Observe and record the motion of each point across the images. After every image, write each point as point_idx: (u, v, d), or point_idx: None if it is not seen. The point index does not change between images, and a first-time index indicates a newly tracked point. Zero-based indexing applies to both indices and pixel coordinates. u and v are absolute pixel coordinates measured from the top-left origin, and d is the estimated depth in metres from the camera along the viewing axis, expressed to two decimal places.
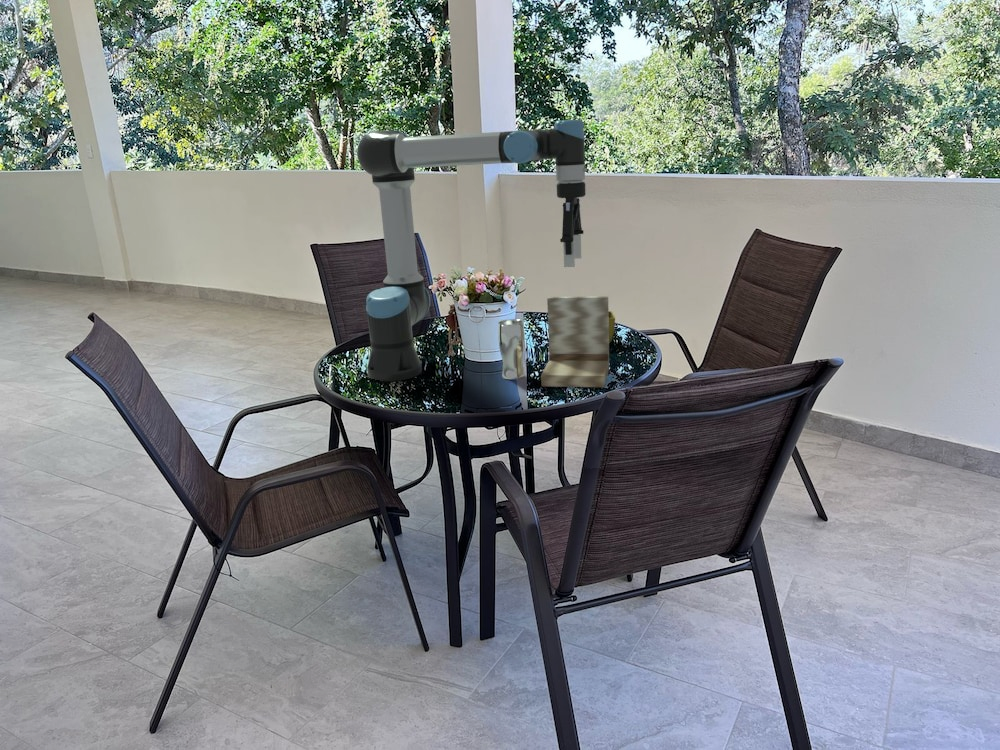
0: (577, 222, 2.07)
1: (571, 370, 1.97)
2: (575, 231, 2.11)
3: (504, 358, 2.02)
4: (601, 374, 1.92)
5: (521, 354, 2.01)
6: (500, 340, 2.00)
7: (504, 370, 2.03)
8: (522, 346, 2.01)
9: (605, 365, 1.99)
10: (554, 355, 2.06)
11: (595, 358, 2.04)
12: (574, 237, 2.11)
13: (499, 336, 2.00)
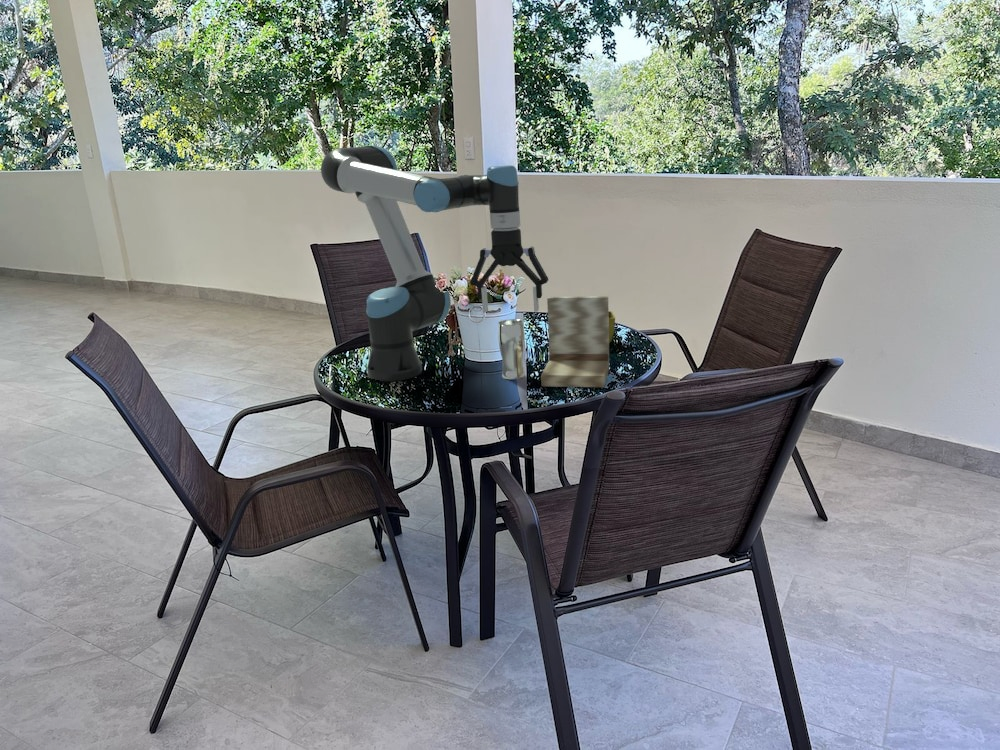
0: None
1: (571, 370, 1.97)
2: None
3: (504, 358, 2.02)
4: (601, 374, 1.92)
5: (521, 354, 2.01)
6: (500, 340, 2.00)
7: (504, 370, 2.03)
8: (522, 346, 2.01)
9: (605, 365, 1.99)
10: (554, 355, 2.06)
11: (595, 358, 2.04)
12: None
13: (499, 336, 2.00)
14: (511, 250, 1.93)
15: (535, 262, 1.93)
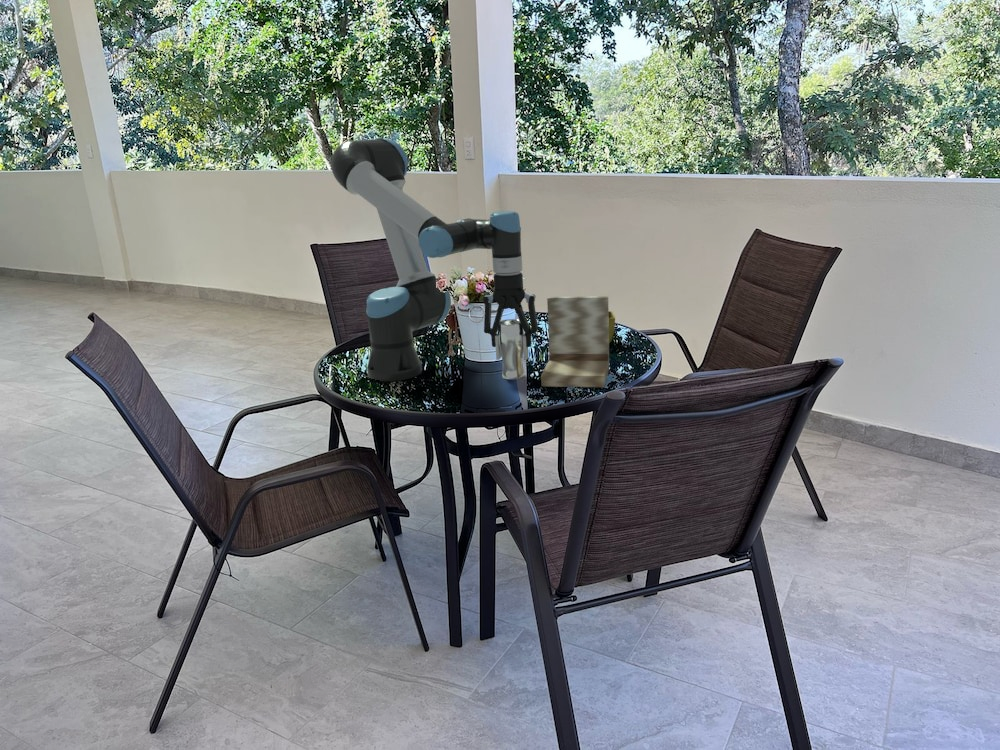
0: None
1: (571, 370, 1.97)
2: None
3: (504, 358, 2.02)
4: (601, 374, 1.92)
5: (521, 354, 2.01)
6: (500, 340, 2.00)
7: (504, 370, 2.03)
8: (522, 346, 2.01)
9: (605, 365, 1.99)
10: (554, 355, 2.06)
11: (595, 358, 2.04)
12: None
13: (499, 336, 2.00)
14: (514, 291, 1.97)
15: (532, 311, 1.97)
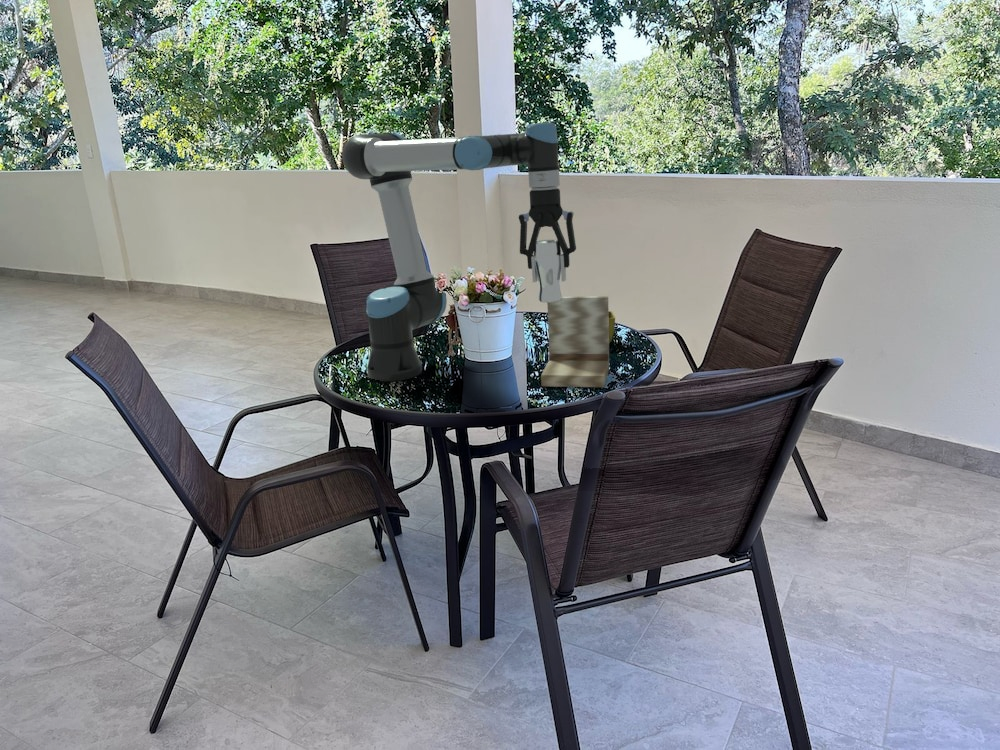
0: None
1: (571, 370, 1.97)
2: None
3: (541, 279, 1.93)
4: (601, 374, 1.92)
5: (558, 275, 1.93)
6: (536, 260, 1.91)
7: (541, 293, 1.94)
8: (559, 266, 1.92)
9: (605, 365, 1.99)
10: (554, 355, 2.06)
11: (595, 358, 2.04)
12: None
13: (535, 256, 1.92)
14: (551, 208, 1.88)
15: (570, 228, 1.88)
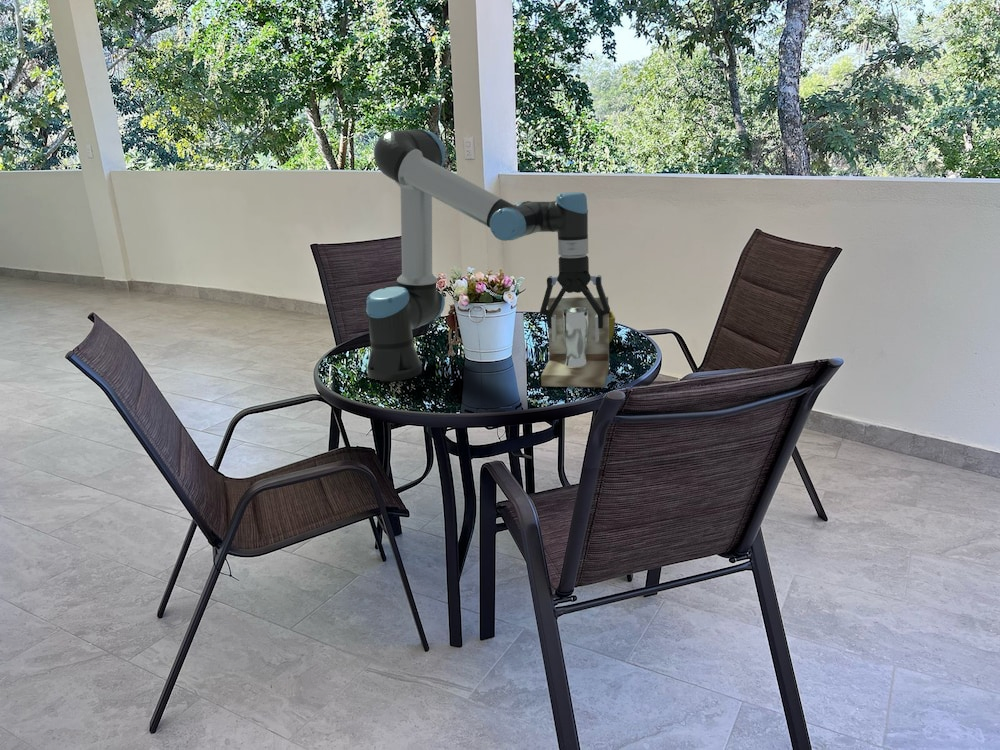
0: None
1: (571, 370, 1.97)
2: None
3: (568, 346, 1.97)
4: (601, 374, 1.92)
5: (586, 343, 1.97)
6: (565, 328, 1.96)
7: (567, 359, 1.99)
8: (587, 334, 1.96)
9: (605, 365, 1.99)
10: (554, 355, 2.06)
11: (595, 358, 2.04)
12: None
13: (564, 324, 1.96)
14: (579, 276, 1.92)
15: (601, 292, 1.92)
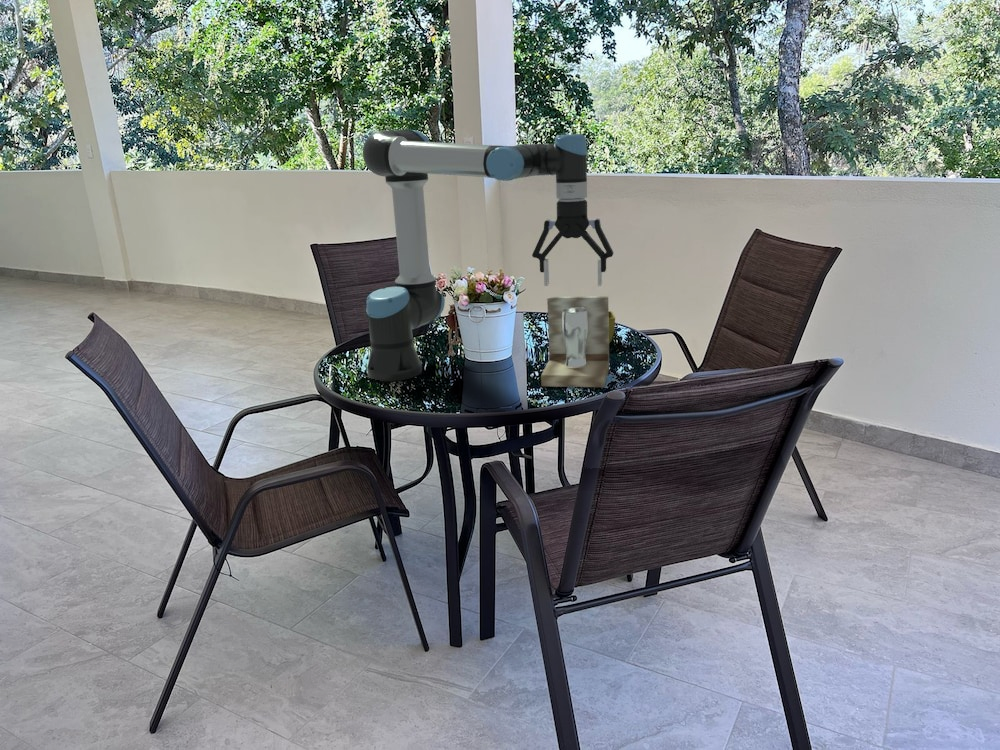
0: (589, 244, 1.90)
1: (571, 370, 1.97)
2: None
3: (568, 346, 1.97)
4: (601, 374, 1.92)
5: (585, 343, 1.97)
6: (564, 328, 1.96)
7: (567, 359, 1.99)
8: (586, 335, 1.96)
9: (605, 365, 1.99)
10: (554, 355, 2.06)
11: (595, 358, 2.04)
12: None
13: (563, 324, 1.96)
14: (577, 222, 1.88)
15: (601, 235, 1.88)
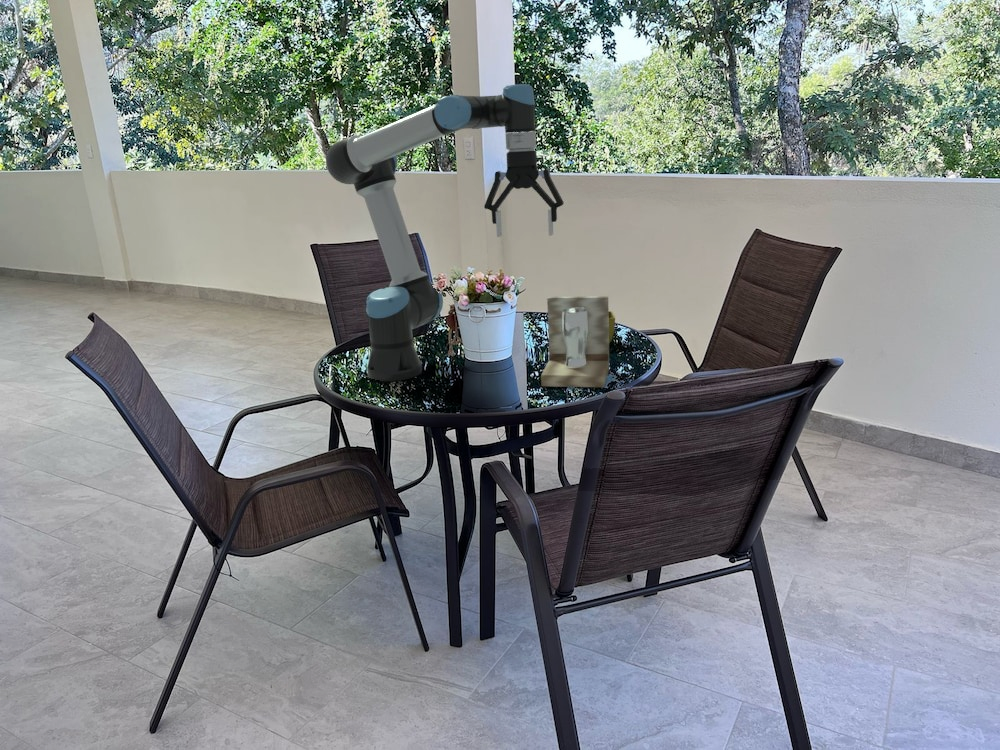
0: (539, 194, 1.93)
1: (571, 370, 1.97)
2: None
3: (568, 346, 1.97)
4: (601, 374, 1.92)
5: (585, 343, 1.97)
6: (564, 328, 1.96)
7: (567, 359, 1.99)
8: (586, 335, 1.96)
9: (605, 365, 1.99)
10: (554, 355, 2.06)
11: (595, 358, 2.04)
12: None
13: (563, 324, 1.96)
14: (526, 172, 1.92)
15: (550, 184, 1.91)
